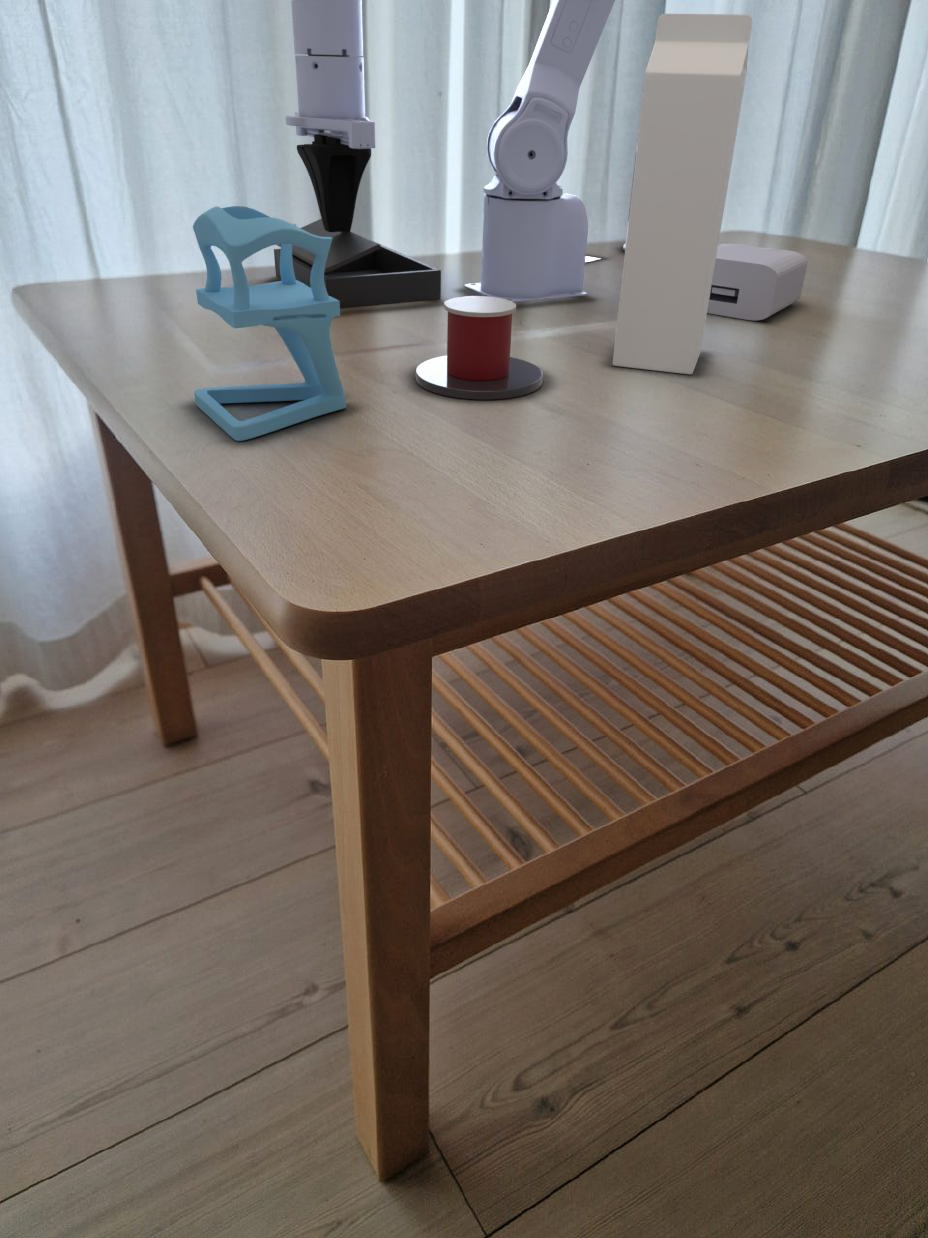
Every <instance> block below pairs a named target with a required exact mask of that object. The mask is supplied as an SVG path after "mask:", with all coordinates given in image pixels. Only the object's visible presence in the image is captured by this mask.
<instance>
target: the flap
mask: <svg viewBox="0 0 928 1238" xmlns="http://www.w3.org/2000/svg"><path fill="white" fill-rule="evenodd" d="M300 228H301V229H303V230H305V231H307V232H308V233H310V234H313V235H316V236H320V237H331V238H332V242H331V246H330V249H329V253H328V257H327V261H326V264H325V270H324V272H326V273H329V272H331V271H333V270H335V269H337V268H339V267H342V266H344V265H346V264H348V263H350V262H352V261H354V260H357V259H359V258H361V257H363V256H365V255H367V254H370V253H372V252H374V251H376V250H378V249H380V248H381V247H380V244H381V243H379V242H376V241H374V240H371V239H369V238H367V237H365V236H362V235H361V234H358V233H355V232H353V231H351V230H350V231H347V232H328V231H326V230H325V228H324V225H323V222H322V218H320V219H317V220H315V221H313V222H310V223H308V224H306V225H303V226H301V227H300ZM378 243H379V244H378ZM276 246H277V247H279V248H281V244H277V245H276ZM292 254H293V255H295V256H297V257H299V258H300V259H302V260H304V261H306V262H308V263H309V264H311V265H313V264H314V261H315V258H316V255H315V254H314V253H312V252H310V251H308V250H306V249H304V248H301V247H299V246H295V245H292Z"/></svg>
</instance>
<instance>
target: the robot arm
mask: <svg viewBox="0 0 928 1238" xmlns="http://www.w3.org/2000/svg"><path fill="white" fill-rule="evenodd" d="M615 1H616V0H552V3H551V5H550V7H549V11H548V13H547V16H546V19H545V20H544V24H543V27H542V29H541V31H540V35H539V37H538V40H537V42H536V45H535V48H534V50H533V53H532V55H531V58H530V61H529V63H528V65H527V68H526V70H525V72H524V74H523V75H522V78H521V80H520V81H519V83H518V85H517V88H516V90H515V93H514V94H513V97H512V100H511V102H510V103H509V105H508V106H507V108H506V109H505V111H503V112H502V113H501V114H500V115H499V116H498V117H497V118H496V119H495V121H494V122H493V123H492V125H491V127H490V129H489V132H488V135H487V140H486V155H487V158H488V161H489V164H490V167H491V168H492V169H493V171H494V172H495V174H494V175H493V177H492V179H491V181H490V182H489V183H488V184H486V185H485V186H484V187H483V193H484V194H483V205H482V206H483V207H482V208H483V209H482V210H483V211H482V237H481V239H482V240H481V266H480V267H481V268H480V269H481V270H480V282H474V283H465V284H464V285H463V287H464V288H465V289H468V290H471V291H473V292H474V293H477V294H480V295H481V296H489V297H497V298H503V299H507V300H510V301H512V302H514V303H523V302H532V301H543V300H554V299H563V298H564V299H565V298H573V297H584V296H587V295H588V293H587V292H585V291H583V289H584V279H585V277H584V276H585V267H586V262H585V258H586V256H587V247H588V246H587V245H588V234H589V220H588V214H587V210H586V206H585V205H584V203H583V201H582V200H581V199H580V198H579V196H577V195H575V194H572V193H564V187H562V186H561V185H560V184H558V183H557V182H558V181H559V180H560V178H561V177H562V175H563V173H564V171H565V168H566V165H567V161H568V155H569V152H568V151H569V150H568V149H569V148H568V146H569V145H568V136H569V131H570V128H571V125H572V122H573V120H574V117H575V115H576V111H577V105H578V99H579V94H580V88H581V85H582V83H583V81H584V78H585V75H586V73H587V71H588V68H589V66H590V63H591V60H592V58H593V56H594V54H595V52H596V48H597V46H598V44H599V41H600V38H601V36H602V34H603V32H604V29H605V26H606V24H607V21H608V19H609V16H610V15H611V12H612V9H613V7H614V4H615ZM290 2H291V3H290V4H291V16H292V17H291V18H292V31H293V33H292V34H293V47H294V60H295V61H294V62H295V76H296V92H297V104H298V105H297V106H298V107H297V108H298V111H295V112H294V115H286V116H285V124H286V125H287V126H290V127H295V131H296V136H298V137H306V136H307V137H311V138H313V141H311V143H304V144H297V145H296V151H297V154H298V155H299V157H300V160H301V161H302V163H303V165H304V167H305V169H306V171H307V174H308V176H309V178H310V181H311V184H312V188H313V191H314V194H315V198H316V202H317V206H318V210H319V215H320V219H322V222H323V225H324V228H325V230H326V231H328V232H347V231H351V230H352V226H353V221H354V214H355V209H356V203H357V198H358V193H359V188H360V184H361V182H362V178H363V175H364V173H365V170H366V168H367V165H368V164H369V161H370V160H371V157H372V149H376V122H375V121H373V120H370V119H369V117H368V116H366V100H365V99H366V98H365V97H366V96H365V66H364V65H365V61H364V60H365V59H364V35H363V33H364V31H363V6H362V5H363V0H290ZM325 131H329V132H325Z"/></svg>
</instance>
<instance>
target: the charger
mask: <svg viewBox="0 0 928 1238" xmlns="http://www.w3.org/2000/svg"><path fill="white" fill-rule="evenodd" d="M808 263H809V262H808V259H807V257H806V256H805V255H803V254H802V253H800V252H798V251H794V250H788V249H780V248H772V247H764V246H755V245H748V244H741V243H729V242H726V243H720V244H718V249H717V255H716V261H715V267H714V273H713V279H712V285H711V291H710V298H709V304H708V310H707V314H710V315H717V316H722V317H728V318H735V319H739V320H746V321H763V320H765V319H767V318H769V317H771V316H773V315H774V314H776V313H778V312H779V311H781V310H783V309H785V308H787V307H789V306H791V305H792V304H794V303H796V302H798V300H800V298H801V295H802V292H803V286H804V282H805V277H806V273H807V268H808V265H809V264H808Z"/></svg>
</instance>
